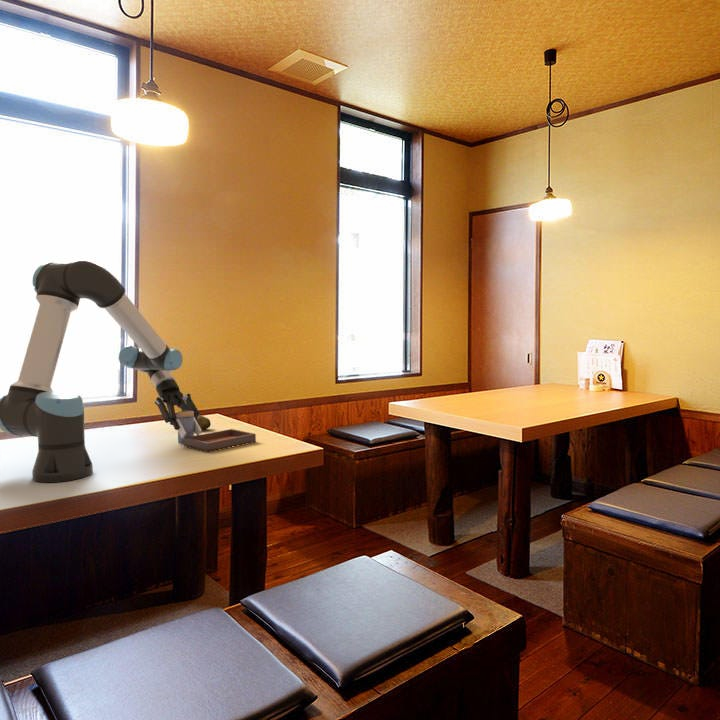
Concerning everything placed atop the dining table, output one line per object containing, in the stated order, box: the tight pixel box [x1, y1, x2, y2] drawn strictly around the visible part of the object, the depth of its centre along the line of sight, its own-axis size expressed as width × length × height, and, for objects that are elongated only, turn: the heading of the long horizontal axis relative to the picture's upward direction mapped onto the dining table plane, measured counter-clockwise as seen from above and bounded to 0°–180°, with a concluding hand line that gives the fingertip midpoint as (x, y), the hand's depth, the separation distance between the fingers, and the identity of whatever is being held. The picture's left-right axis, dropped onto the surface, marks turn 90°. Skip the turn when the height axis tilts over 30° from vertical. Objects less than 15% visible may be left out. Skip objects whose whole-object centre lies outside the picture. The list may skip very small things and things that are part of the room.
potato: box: [175, 413, 211, 431], centre depth 225 cm, size 8×13×8 cm, turn 74°
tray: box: [183, 428, 257, 453], centre depth 199 cm, size 20×14×3 cm
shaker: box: [176, 410, 195, 445], centre depth 202 cm, size 6×6×11 cm
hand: (191, 434), depth 200 cm, fingers closed on shaker, 5 cm apart
